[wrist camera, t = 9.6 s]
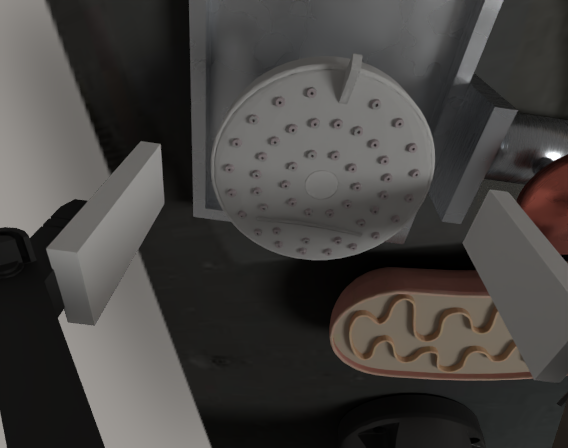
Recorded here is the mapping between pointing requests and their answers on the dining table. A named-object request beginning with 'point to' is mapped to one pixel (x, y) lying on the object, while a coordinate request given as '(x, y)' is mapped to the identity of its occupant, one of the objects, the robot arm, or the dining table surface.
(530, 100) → the dining table surface
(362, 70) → the showerhead
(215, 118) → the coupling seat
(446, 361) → the anatomical model
